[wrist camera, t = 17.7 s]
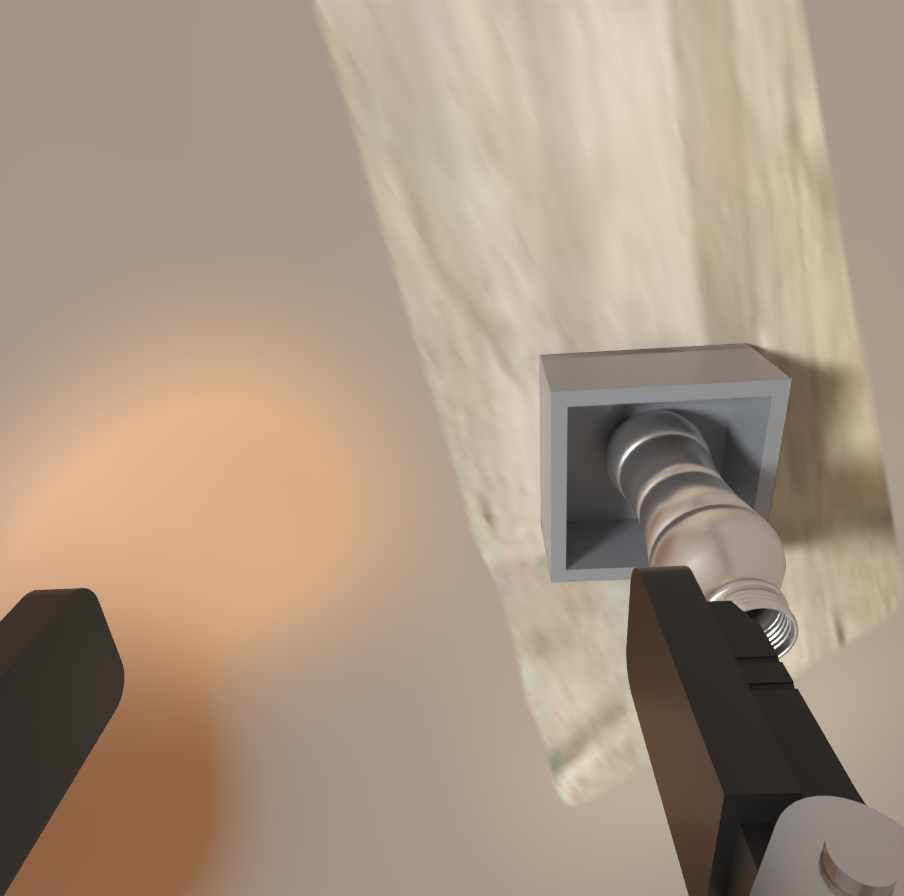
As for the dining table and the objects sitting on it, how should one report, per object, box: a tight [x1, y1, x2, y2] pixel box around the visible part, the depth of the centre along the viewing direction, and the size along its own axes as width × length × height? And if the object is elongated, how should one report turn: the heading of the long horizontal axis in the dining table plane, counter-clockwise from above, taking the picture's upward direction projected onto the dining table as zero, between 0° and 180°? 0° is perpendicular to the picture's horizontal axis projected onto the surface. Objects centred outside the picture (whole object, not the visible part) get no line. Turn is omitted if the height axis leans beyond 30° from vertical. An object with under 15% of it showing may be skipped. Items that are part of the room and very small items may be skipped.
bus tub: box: [540, 343, 792, 582], centre depth 45 cm, size 14×14×7 cm
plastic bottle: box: [606, 410, 798, 659], centre depth 38 cm, size 6×7×20 cm
